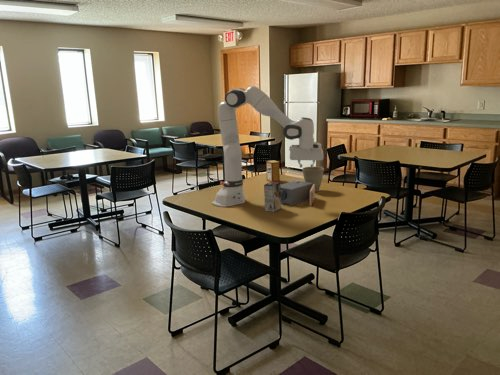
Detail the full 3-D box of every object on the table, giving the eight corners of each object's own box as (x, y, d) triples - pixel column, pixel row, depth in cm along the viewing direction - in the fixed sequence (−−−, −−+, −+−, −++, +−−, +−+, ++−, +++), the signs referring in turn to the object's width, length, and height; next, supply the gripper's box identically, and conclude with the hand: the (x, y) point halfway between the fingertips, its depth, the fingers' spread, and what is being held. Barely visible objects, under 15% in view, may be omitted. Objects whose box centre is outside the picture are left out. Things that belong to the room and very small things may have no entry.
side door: (312, 205, 247) (312, 191, 245) (309, 205, 248) (309, 191, 245) (316, 197, 265) (316, 184, 263) (313, 197, 266) (313, 183, 264)
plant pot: (310, 187, 296) (310, 165, 292) (328, 190, 286) (328, 167, 282) (298, 191, 286) (297, 168, 282) (315, 194, 275) (315, 171, 272)
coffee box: (272, 206, 249) (271, 181, 246) (281, 208, 246) (280, 182, 242) (264, 210, 242) (263, 184, 238) (274, 212, 239) (273, 185, 235)
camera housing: (289, 205, 250) (289, 188, 248) (272, 202, 260) (272, 185, 257) (313, 197, 266) (313, 181, 264) (296, 194, 276) (296, 179, 274)
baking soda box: (279, 181, 318) (279, 161, 314) (272, 182, 315) (271, 162, 312) (273, 179, 326) (273, 159, 323) (266, 180, 324) (266, 160, 320)
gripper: (288, 145, 244) (288, 168, 248) (322, 145, 239) (322, 168, 242) (290, 144, 250) (290, 166, 253) (323, 144, 245) (323, 166, 248)
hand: (306, 167), depth 248 cm, fingers open, 5 cm apart
